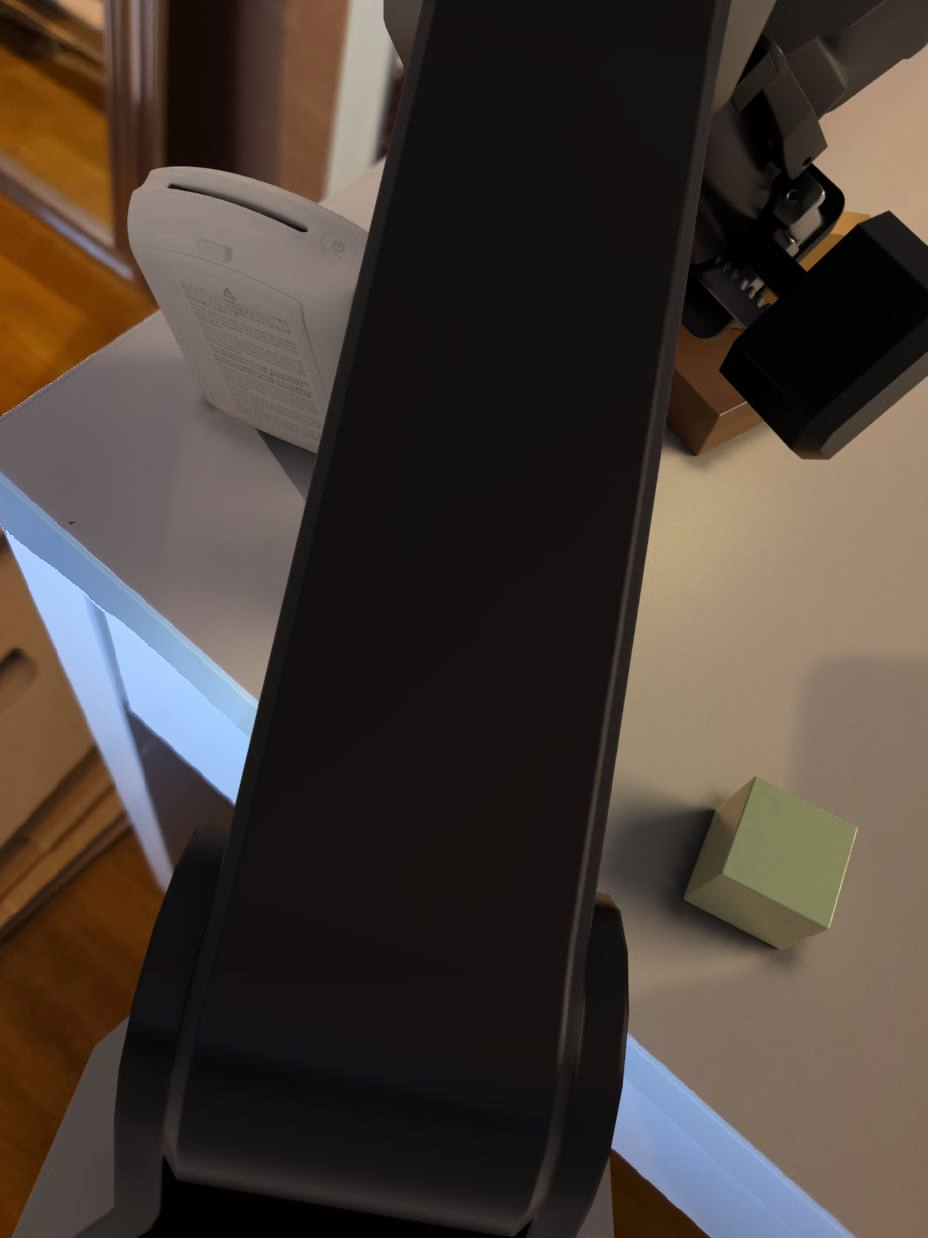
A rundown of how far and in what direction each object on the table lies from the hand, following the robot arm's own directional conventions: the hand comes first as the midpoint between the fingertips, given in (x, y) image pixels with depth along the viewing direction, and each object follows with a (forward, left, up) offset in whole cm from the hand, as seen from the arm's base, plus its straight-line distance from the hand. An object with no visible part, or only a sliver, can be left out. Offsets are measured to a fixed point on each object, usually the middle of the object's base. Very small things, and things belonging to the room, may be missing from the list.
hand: (754, 273), depth 38 cm
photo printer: (-15, +9, -10) cm, 19 cm away
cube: (-11, -18, -10) cm, 23 cm away
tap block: (+5, +4, -10) cm, 12 cm away
